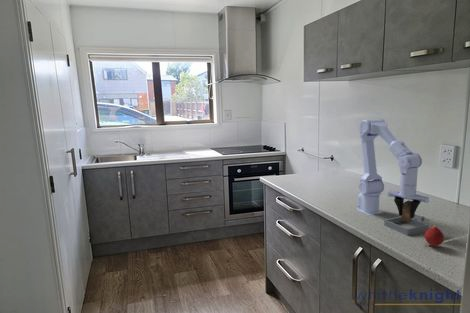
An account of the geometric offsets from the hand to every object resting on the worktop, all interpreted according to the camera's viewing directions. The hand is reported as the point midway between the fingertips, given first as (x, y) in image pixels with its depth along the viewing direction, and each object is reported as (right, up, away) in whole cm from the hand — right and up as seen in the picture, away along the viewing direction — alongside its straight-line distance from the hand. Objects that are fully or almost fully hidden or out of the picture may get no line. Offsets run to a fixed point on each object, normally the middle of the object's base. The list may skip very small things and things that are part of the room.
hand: (406, 216), depth 124 cm
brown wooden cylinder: (0, -2, 0) cm, 2 cm away
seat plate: (+9, -4, +11) cm, 15 cm away
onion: (+2, -8, -14) cm, 17 cm away
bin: (0, -6, +1) cm, 6 cm away
